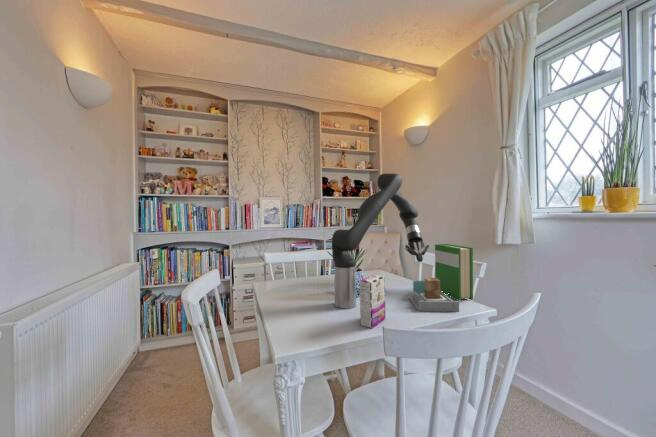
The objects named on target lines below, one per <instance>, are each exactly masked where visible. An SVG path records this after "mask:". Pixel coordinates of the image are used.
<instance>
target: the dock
mask: <svg viewBox="0 0 656 437" xmlns="http://www.w3.org/2000/svg"><path fill="white" fill-rule="evenodd" d="M440 294H441V295H442V296H443V297H444V298H446V299H447V301H424V300H423V299H422V298H421V297H420V296H419V295H418V294H417V292H416V291H413V290H412V295H408V299H409V300H410V302H411V301H412V302H413V303H412V302H411V303H412V305H414V307H415V306H416V307H415V308H416V309H417V310H418V312H460V301H459V300H455V301H454V299H453V298H452V297H450V296H447V295H445V294H444V293H443V292H441V291H440Z"/></svg>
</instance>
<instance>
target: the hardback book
mask: <svg viewBox="0 0 656 437" xmlns="http://www.w3.org/2000/svg"><path fill="white" fill-rule="evenodd" d="M473 251H474V250H473V247H470V246H465V245H457V244H450V243H438V244H434V257H435V258H434V267H435V268H434V270H435V271H434V274H435V275H434V278H437V279H438V280H440V291H443V293H445V294H448V293H449V294H448V295H449V296H448V297H450V296H451V297H450V298H452V297H453V298H452V299H454V298H455V299H454V300H456V299H458V300H457V301H459V300H462V299H469V300H471V301H472V300H474V277H473V276H474V269H473V268H474V254H473V253H474V252H473Z"/></svg>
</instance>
